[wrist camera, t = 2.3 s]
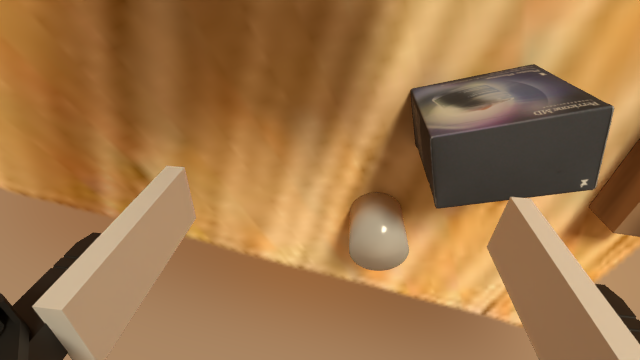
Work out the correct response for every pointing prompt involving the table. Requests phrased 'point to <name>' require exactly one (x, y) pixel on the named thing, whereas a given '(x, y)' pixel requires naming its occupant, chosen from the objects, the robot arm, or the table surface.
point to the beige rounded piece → (377, 232)
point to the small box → (508, 136)
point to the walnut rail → (621, 197)
